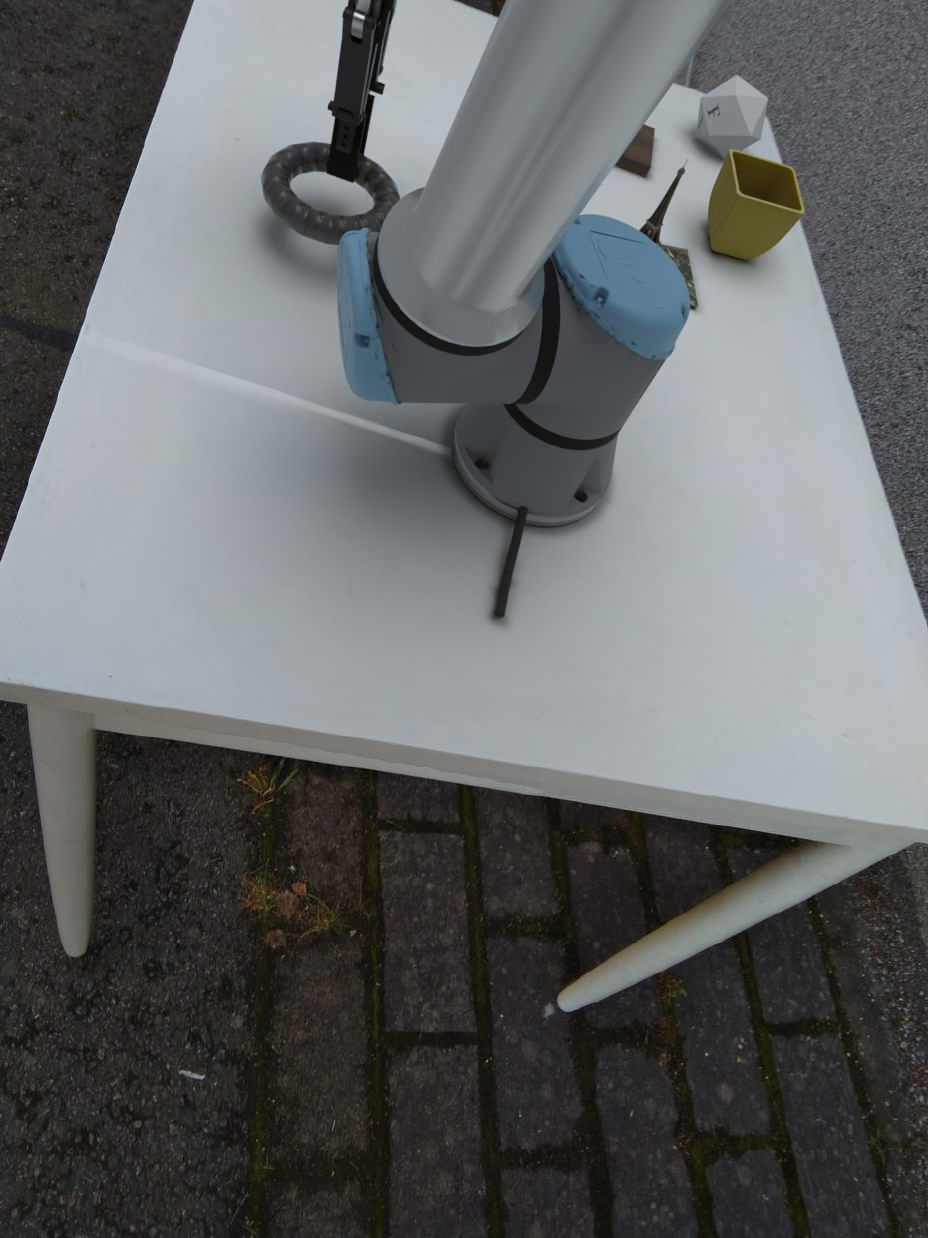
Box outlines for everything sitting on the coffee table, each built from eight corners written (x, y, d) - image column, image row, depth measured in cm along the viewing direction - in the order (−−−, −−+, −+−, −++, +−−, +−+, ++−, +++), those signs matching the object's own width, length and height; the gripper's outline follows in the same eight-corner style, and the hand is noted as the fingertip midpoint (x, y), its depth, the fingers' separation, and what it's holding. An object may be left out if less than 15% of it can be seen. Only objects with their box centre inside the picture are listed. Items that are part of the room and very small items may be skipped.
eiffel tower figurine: (574, 282, 100) (625, 174, 89) (568, 223, 105) (614, 113, 94) (696, 309, 103) (759, 209, 92) (684, 251, 108) (743, 149, 97)
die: (687, 120, 125) (693, 74, 115) (753, 101, 124) (764, 53, 114) (700, 177, 125) (707, 136, 115) (766, 159, 123) (779, 115, 113)
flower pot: (763, 276, 110) (806, 213, 103) (699, 258, 108) (738, 193, 101) (753, 230, 115) (794, 166, 107) (691, 212, 113) (728, 146, 105)
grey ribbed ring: (381, 269, 84) (387, 245, 82) (243, 221, 82) (244, 196, 80) (409, 189, 91) (415, 166, 89) (282, 144, 90) (285, 119, 88)
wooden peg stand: (645, 177, 114) (697, 71, 103) (579, 151, 113) (624, 42, 102) (650, 138, 119) (699, 33, 108) (586, 114, 118) (630, 5, 106)
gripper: (368, -167, 73) (328, 111, 93) (318, -91, 65) (285, 198, 84) (455, -131, 74) (398, 137, 94) (418, -51, 66) (363, 225, 85)
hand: (345, 165), depth 89 cm, fingers closed on grey ribbed ring, 3 cm apart
